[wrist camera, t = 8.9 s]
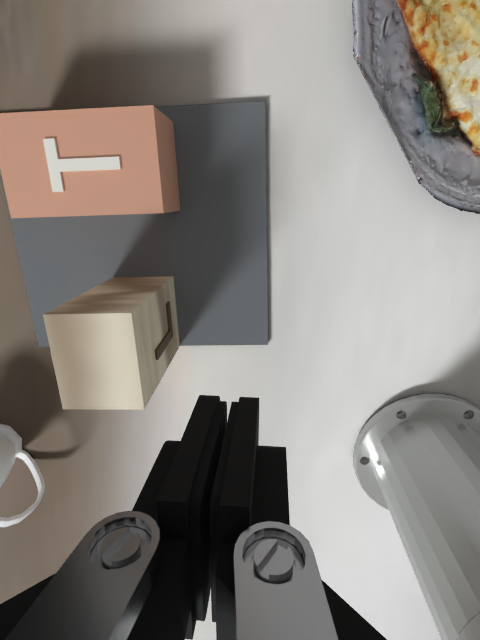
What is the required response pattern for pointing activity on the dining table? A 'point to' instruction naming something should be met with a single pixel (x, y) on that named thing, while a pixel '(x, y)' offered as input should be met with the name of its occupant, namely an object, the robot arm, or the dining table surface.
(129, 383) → the beech block
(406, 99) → the food plate
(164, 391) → the dining table surface
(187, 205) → the rubber mat
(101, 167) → the terracotta block
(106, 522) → the robot arm
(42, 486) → the cup
